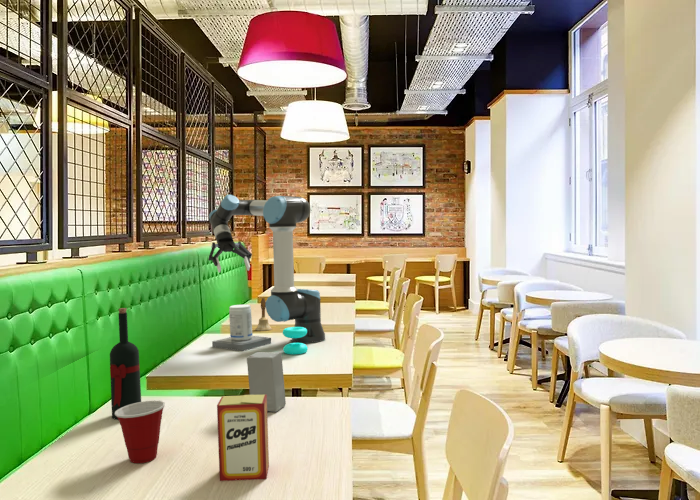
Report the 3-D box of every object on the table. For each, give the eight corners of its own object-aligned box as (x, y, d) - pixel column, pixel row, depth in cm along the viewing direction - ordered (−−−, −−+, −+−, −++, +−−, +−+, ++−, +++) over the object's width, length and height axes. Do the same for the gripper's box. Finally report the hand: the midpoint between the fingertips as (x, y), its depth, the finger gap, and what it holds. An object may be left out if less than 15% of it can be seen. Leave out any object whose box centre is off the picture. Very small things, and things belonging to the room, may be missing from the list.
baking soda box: (219, 481, 122) (217, 403, 121) (224, 468, 129) (221, 394, 128) (266, 478, 123) (264, 401, 122) (268, 466, 129) (266, 392, 128)
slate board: (271, 343, 266) (271, 337, 266) (242, 351, 251) (242, 344, 251) (241, 339, 276) (241, 334, 276) (212, 347, 261) (212, 340, 261)
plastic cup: (124, 451, 140) (122, 400, 140) (171, 448, 141) (169, 398, 141) (109, 469, 129) (107, 414, 129) (161, 466, 130) (158, 412, 130)
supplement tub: (245, 336, 270) (244, 303, 269) (256, 338, 263) (255, 305, 262) (226, 339, 264) (225, 306, 263) (236, 342, 256) (235, 307, 256)
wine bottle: (102, 422, 161) (97, 312, 160) (119, 411, 171) (115, 306, 170) (131, 422, 161) (126, 311, 160) (146, 410, 171) (142, 306, 170)
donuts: (311, 326, 247) (300, 330, 238) (311, 350, 248) (300, 355, 239) (289, 325, 251) (278, 329, 242) (290, 349, 252) (278, 354, 242)
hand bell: (263, 327, 309) (262, 296, 308) (275, 328, 304) (274, 297, 303) (251, 330, 302) (250, 298, 301) (263, 331, 297) (262, 299, 296)
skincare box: (286, 406, 172) (284, 351, 171) (275, 413, 165) (273, 356, 165) (259, 404, 175) (258, 350, 174) (247, 411, 168) (246, 355, 167)
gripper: (247, 241, 293) (258, 273, 280) (196, 242, 281) (206, 276, 268) (250, 230, 288) (262, 262, 275) (198, 231, 276) (208, 265, 263)
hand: (234, 269), depth 272 cm, fingers open, 13 cm apart
